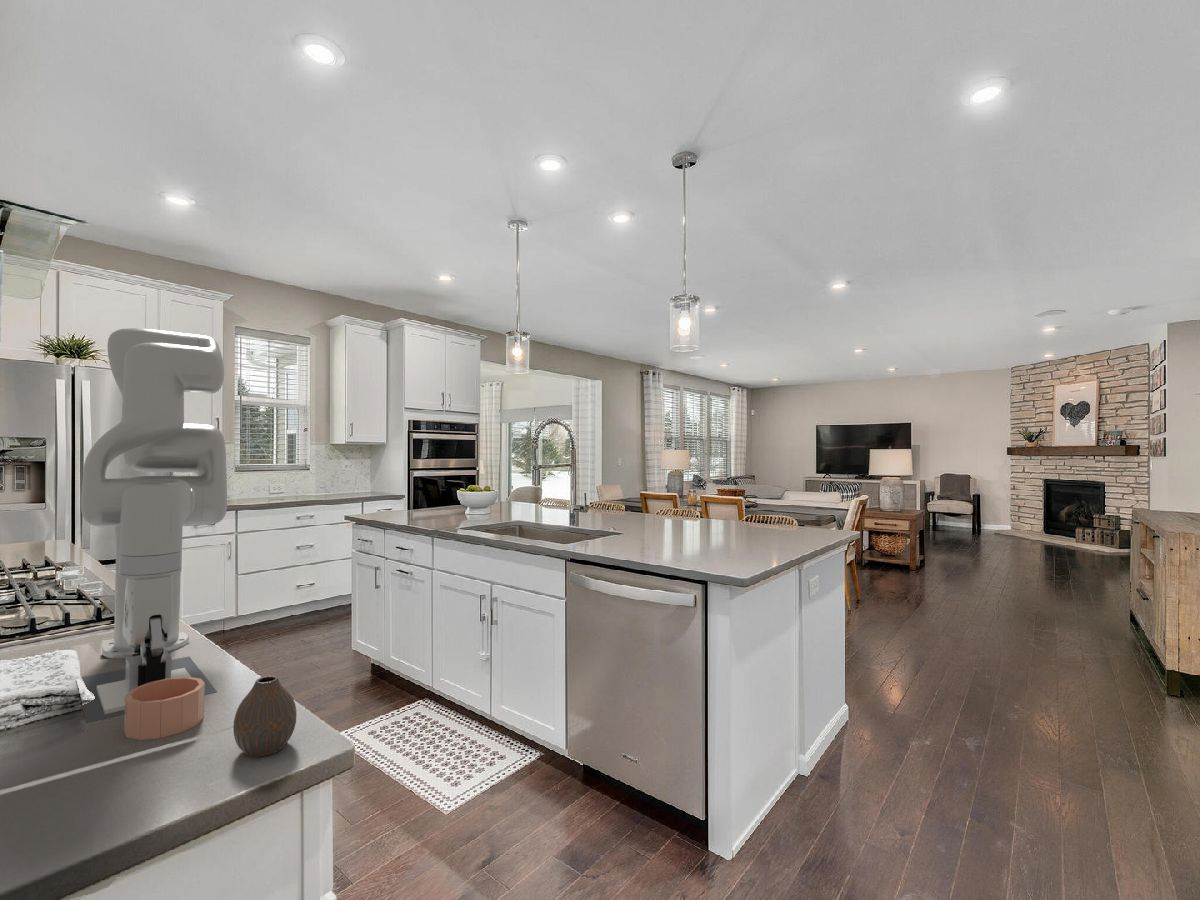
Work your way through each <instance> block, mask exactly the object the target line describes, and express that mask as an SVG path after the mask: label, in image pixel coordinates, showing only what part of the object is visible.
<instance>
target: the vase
mask: <svg viewBox="0 0 1200 900" xmlns="http://www.w3.org/2000/svg"><path fill="white" fill-rule="evenodd" d="M297 713H298V712H297V706H296V701H295V700H294V697H293V696H292V694H291V693H290V692H289V691H288V689H286V688H285V687H284V686H283V684H281V682H280V680H279V678H278V677H277V676H276V675H266V676H262V677H259V678H258V679H256V680H255V682H254V684H253V686H252V688H251V689H250V691H248V693H247V694H246V695H245V697H244V698H243V699H242V701H241V702H240V703H239V705H238V707H237V709H236V711H235V715H234V720H233V726H232V728H233V736H234V737H233V738H234V740H235V743H236V745H237V746H238V747H237V748H239V749H240V750H241V752H243V753H244V754H246V755H248V756H250V757H265V756H269V755H271V753H272V754H275V753H277V752H278V751H280V750H281V749H282V748H283V747H284V746H285V745H286V744H287V743H288V742H289V740H290V739H291V738H292V735H293V734H294V730H295V727H296V724H297ZM276 751H277V752H276ZM274 752H275V753H274ZM268 754H269V755H268ZM264 755H265V756H264Z"/></svg>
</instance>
